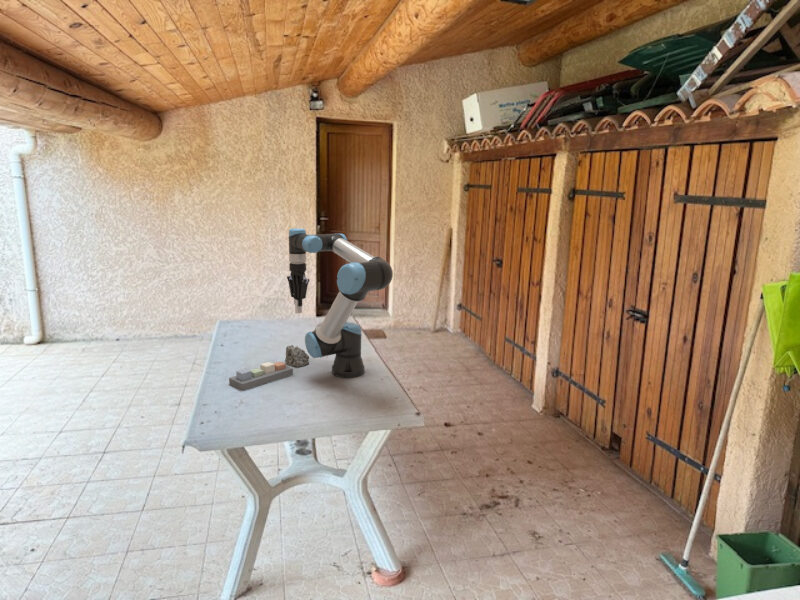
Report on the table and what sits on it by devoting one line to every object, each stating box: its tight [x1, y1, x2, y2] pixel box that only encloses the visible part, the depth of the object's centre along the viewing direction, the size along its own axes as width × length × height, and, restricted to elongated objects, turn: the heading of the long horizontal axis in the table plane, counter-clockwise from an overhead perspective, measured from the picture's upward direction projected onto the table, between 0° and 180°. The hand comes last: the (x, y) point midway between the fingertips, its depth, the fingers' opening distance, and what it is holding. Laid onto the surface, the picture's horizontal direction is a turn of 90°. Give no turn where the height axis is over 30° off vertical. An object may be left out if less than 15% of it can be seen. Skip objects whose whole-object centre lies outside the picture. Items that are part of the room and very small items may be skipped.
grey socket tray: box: [228, 365, 294, 392], centre depth 224 cm, size 10×26×3 cm, turn 140°
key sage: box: [249, 367, 263, 378], centre depth 222 cm, size 4×4×4 cm
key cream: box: [259, 361, 275, 374], centre depth 226 cm, size 4×4×4 cm
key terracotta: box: [273, 361, 287, 371], centre depth 231 cm, size 4×4×4 cm
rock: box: [284, 344, 310, 368], centre depth 245 cm, size 13×10×10 cm
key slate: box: [235, 368, 251, 382], centre depth 217 cm, size 4×4×4 cm
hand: (298, 312), depth 239 cm, fingers closed
